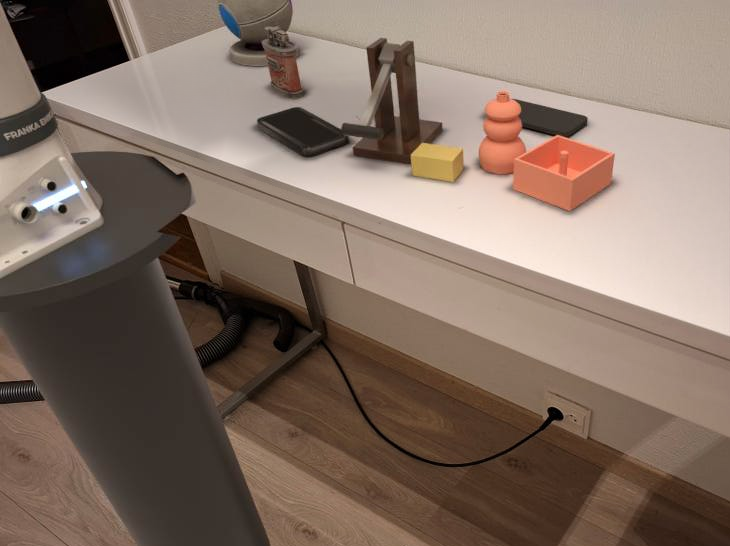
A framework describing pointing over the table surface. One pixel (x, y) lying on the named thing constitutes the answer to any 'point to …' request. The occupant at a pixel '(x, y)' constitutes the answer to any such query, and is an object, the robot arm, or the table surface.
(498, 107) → the pottery
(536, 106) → the phone
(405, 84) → the brown wooden frame
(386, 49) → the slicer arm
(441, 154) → the butter block
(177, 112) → the table surface
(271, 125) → the phone
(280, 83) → the lighter
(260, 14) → the webcam
